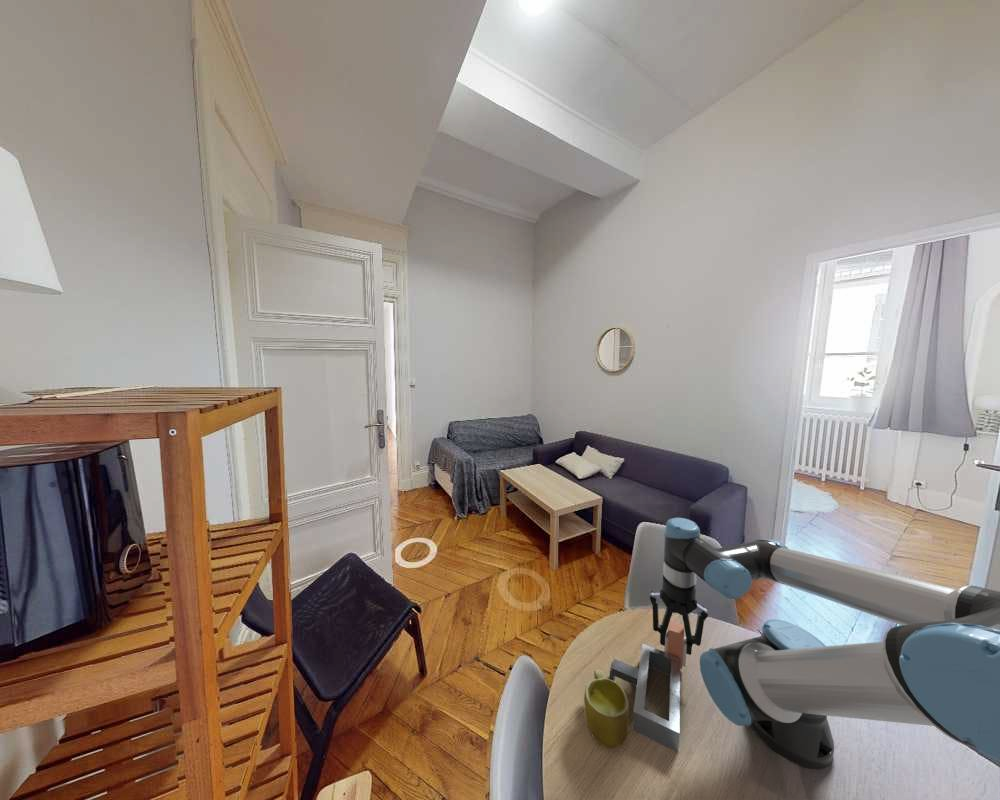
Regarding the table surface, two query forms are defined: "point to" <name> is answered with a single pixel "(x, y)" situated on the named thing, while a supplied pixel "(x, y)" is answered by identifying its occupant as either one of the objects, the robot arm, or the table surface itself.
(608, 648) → the table surface
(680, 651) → the terracotta clay brick
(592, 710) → the mug
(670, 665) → the hollow metal rectangle ring
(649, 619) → the table surface
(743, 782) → the table surface
